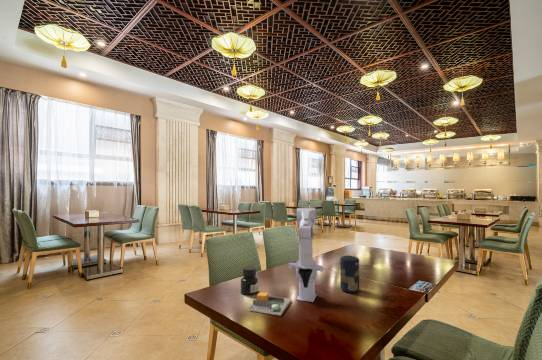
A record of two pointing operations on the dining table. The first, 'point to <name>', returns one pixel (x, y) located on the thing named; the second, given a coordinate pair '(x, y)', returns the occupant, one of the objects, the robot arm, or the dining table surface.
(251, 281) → the ink bottle
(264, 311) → the panel
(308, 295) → the robot arm
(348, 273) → the canister
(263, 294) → the toggle
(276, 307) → the button
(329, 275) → the dining table surface
